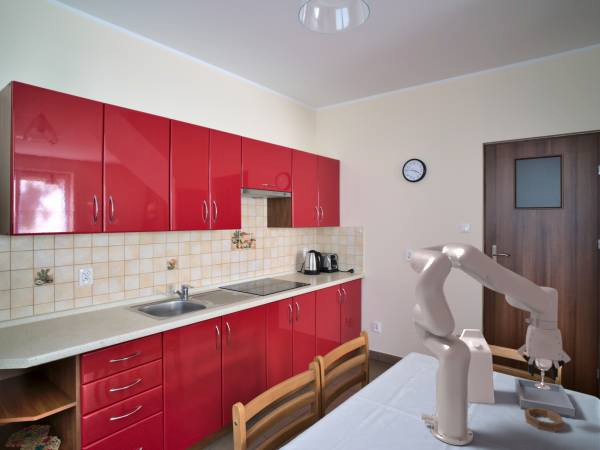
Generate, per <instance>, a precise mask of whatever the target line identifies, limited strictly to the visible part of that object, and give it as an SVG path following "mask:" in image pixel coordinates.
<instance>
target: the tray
mask: <svg viewBox="0 0 600 450" xmlns="http://www.w3.org/2000/svg"><path fill="white" fill-rule="evenodd" d="M541 383H542V381H538V380H537V381H535V380H530V379H526V378H525V379H524V378H517V377H515V378H514V388H515V391H516V396H517V400H518V404H519V407H520V410H523V411H525V409H527V408H532V407H537V408H543V409H548V410H550V411H552V412H554V413H556V414H558V415H560V416H561V417H562V418H566V419H571V420H575V407H574V406H573V404H572V402H571V399H570V398H569V396H568V394H567V392H566V391H565V389H564V387H563V385H562V384H556V383H551V382H550V383H548V382H544V385H547V386H549V387H550V389H549V390H544V389H540V388H537V387H536V386H535V384H541Z"/></svg>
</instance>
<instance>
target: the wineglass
mask: <svg viewBox="0 0 600 450" xmlns="http://www.w3.org/2000/svg"><path fill="white" fill-rule="evenodd" d="M533 364H534V368H536V369H538V370H539V371H540V375H541V382H542V383H541V384H535V386H536V387H537V388H540V389H544V390H549V389H550V387H549V386H547V385H544V383H545V382H544V377H545V372H546V371H547V372H548V371H552V367H553V360H548V359H540V358H535V359H534V361H533Z"/></svg>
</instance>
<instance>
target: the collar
mask: <svg viewBox="0 0 600 450" xmlns="http://www.w3.org/2000/svg"><path fill="white" fill-rule="evenodd" d="M536 417H542V418H547V419H549V420H550V421H553V422H549V421H544V420H540V419H538V418H536ZM524 418H525V421H526V424H528V425H530V426H532V427H534V428H536V429H537V430H541V431H547V432H550V433H558V432H560V431H563V430H565V428H564V427H565V426H564V425H565V424H564V423H565V422H564V419H563V417H561V416H560V415H558V414H556V413H554V412H552V411H550V410H548V409H543V408H537V407H532V408H527V409H525V410H524Z"/></svg>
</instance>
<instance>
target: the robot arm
mask: <svg viewBox="0 0 600 450" xmlns="http://www.w3.org/2000/svg"><path fill="white" fill-rule="evenodd" d="M409 266H410V268H411V269H412V270H413V272H416V273H417V274H419V275H418V278H417V280H416V283H415V288H414V293H415V297H416V300H417V303H416V304H415V305H414V306H413V308H412V311H411V315H412V317H411V318H412V322H413V325H414V328H415V329H416V332H417V335H418V338H419V339H420V342H421V345H422V347H423V349H424V350H425V351H426V352H427V354H429V355H430V356H431V357H433V358H435V359H436V360H437V361H438V362H439V365H438V368H437V370H436V372H435V413H434V414H432V415H430V414H428V413H427V414H426V413H422V414H421V420H422V421H424V424H426V425H430V432H431V434H432V435H433V436H434V437H435V438H436V439H438V440H439V441H442V442H444V443H445V444H450V445H456V446H464V445H469V444H470V443H472V442H473V440H474V433H473V431H472V430H471V429H470V428H469V426H468V424H469V423H468V421H469V418H468V415H469V413H468V412H469V411H468V410H469V409H468V407H469V405H468V404H469V403H468V370H469V365H470V361H471V352H470V349H469V347H468V346H467V344H466V343H465V342H464V341H462V340H461V339H459V338H460V337H458V336H455V335H454V334H453V333H454V332H455V328H456V324H455V323H456V322H455V319H454V315H453V314H452V311H451V309H450V306H449V302H448V300H447V298H446V296H445V291H444V285H445V281H446V280H447V278H448V276H449V274H450V273H451V271H452V268H453V269H459V270H461V271H463V273H465V274H467V275H468V276H469V277H471V278H472V279H474V280H475V281H477V282H478V283H480V284H481V285H482V286H484V287H486V288H488V289H490V290H491V291H495V292H497V293H499V294H503V295H504V298H505V300H506V302H507V303H508V304H509V306H511V307H514V308H516V309H519V310H522V311H527V312H529V313H530V317H529V318H525V323H528V324H529V325H528V327H527V330H526V335H525V336H526V337H525V343H524V344H523V345H522V346H521V347H519V348H518V349H517V351H516V352H517V354H518V355H520V357H522V359H524V361H526V363H527V364H528V365H527V369H528V371H527V373H529V374H530V376H531V377H534V376H535V366H534V364H533V361H534V359H535V358H540V359H548V360H553V367H552V369H551V375H550V377H551V379H552V380H553V381H556V380H557V378H558V377H559V369H560V367H562V366H564V365H565V364H566V363H568V362H570V361H571V357H570V356H569V355H568V354H567V353H566V352H565V350H564V349H563V340H562V333H561V330H560V329H559V328H558V314H559V313H558V308H559V307H558V306H559V305H558V303H559V292H558V290H557V289H556V288H553V287H549V286H539V285H537V284H536V283H534V282H533V281H531V280H529V279H528V278H526V277H523V276H522V275H519V274H518V273H516V272H514V271H512V270H510V269H508V268H506V267H504V266H503V265H501V264H499V262H497V261H496V260H494V259H492V258H491V257H490V256H489V255H487V254H486V253H484V252H483V251H482V250H481V249H479V248H477V247H475V246H474V245H472V244H468V243H461V242H460V243H459V242H449V243H444V244H443V243H442V244H438V245H437V244H436V245H432V246H427V247H422V248H418V249H416V250H414V251H413V252H412V253H411V255H410V257H409ZM525 353H526V354H525Z"/></svg>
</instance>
